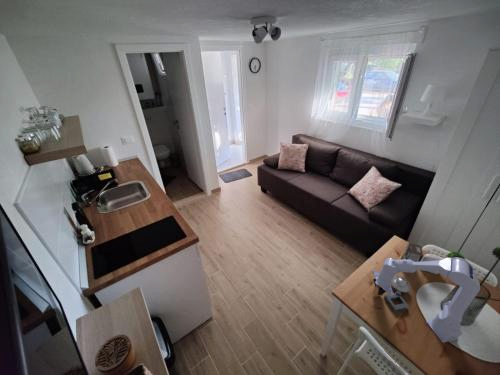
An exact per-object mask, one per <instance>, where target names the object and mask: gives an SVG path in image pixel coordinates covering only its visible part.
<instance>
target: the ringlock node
mask: <svg viewBox="0 0 500 375" xmlns="http://www.w3.org/2000/svg"><path fill="white" fill-rule="evenodd" d="M390 286H391V288H393V289H394V290H395V293H394V292H393V293H394V296H393V297H389V294H385V295H384V297H383V299H384V300H385V301H386V303H387V305H388V306H389V307H390V309H391V310H392V311H393V313H397V312H402V311H407V310H409V309H410V306H409V304H408V302H406V300H405V299H404V298H403V297H402V293H404V294H406V293H409V292H410V290H411V289H412V287H411V284H410V282H409V280H407V279H406V278H405V277H404V276H400V275H394V276H393V278H392V280H391V282H390ZM396 300H398V301H399V304H394V302H393V301H396Z"/></svg>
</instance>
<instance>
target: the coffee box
mask: <svg viewBox="0 0 500 375" xmlns="http://www.w3.org/2000/svg"><path fill="white" fill-rule="evenodd" d="M422 249H423V248H422V245H419V244H415V243H412V242H408V243H407V245H406V247H405V249H404V251H403V253H402V255H401V257H400V259H399V260H403V259H407V260H412V261H414V262H421V260H422V258H423V257H424V253H423V250H422ZM409 273H410V274H414V273H415V272H409Z"/></svg>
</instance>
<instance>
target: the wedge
mask: <svg viewBox="0 0 500 375" xmlns="http://www.w3.org/2000/svg"><path fill="white" fill-rule="evenodd" d="M379 287H380V286H379V285H377V286H375V285H374V288H373V291H372V294H373V296H374V297H375V298H376V297H381V296H383V295H384V293H383V294H382V295H379V294H378V292H379Z"/></svg>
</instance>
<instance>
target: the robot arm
mask: <svg viewBox="0 0 500 375" xmlns="http://www.w3.org/2000/svg"><path fill="white" fill-rule="evenodd" d="M416 271H425V272H428V271H436V272H439V273H438V274H441V276H443V277H444V278H446V279H447V278H448V279H449V280H450V281H451V282H453V283H454V284H456V285H458V286H459V287H458V289H457V290H456V292H455V293H454V295H453V297H452V298H451V300H448V301H447V302H445V303H444V302H443V303H442V310H441V311H439V312H438V313H437V315H436V316H435V317H434V318H433V319H430V320H429V319H428V320H426V323H427V325H428V326H429V327H430V328H431V330H432V331H433V332H434V334H435V335H436V337H438V338H439V340H440V341H441V342H442V343H443V344H444V343H448V341H449V342H453V341H457V340H458V339H459V337H461V336H462V334H463V331H462V330H461V327H462V325H461V322H462V320H463V315H464V313H465V311H466V310H467V309H468V307H469V306H470V304H471V303H472V301H473V300H474V299H475V297H476V296H477V295H478V293H479V292H480V290H481V285H480V284H481V283H480V280H479V279H478V277H477V274H476V272H475V268H474V266H473V264H471V263H470V262H469V261H468V260H466V259H465V258H462V257H445V258H443V259H442V260H438V261H423V262H421V261H420V262H414V261H412V260H407V259H403V260H400V259H395V258H392V257H387V258H385V259H384V263H383V266H382V268H381V270H380V272H378V270H376V269H375V270H372V272H371V274H372V275H373V276H374V278H373V279H372V281H373V283H374V287H375V286H377V285H379V286H380V287H379V292H378V294H379V295H382V294H383V295H384V294H385V293H388V295H389V297H393V296H394V291H393V289H392V288H393V287H392V285H391V284H390V282H391V280H392V278H393V276H396V274H399V273H410V272H414V273H416ZM383 295H382V296H383ZM457 338H458V339H457ZM456 339H457V340H456Z"/></svg>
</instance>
